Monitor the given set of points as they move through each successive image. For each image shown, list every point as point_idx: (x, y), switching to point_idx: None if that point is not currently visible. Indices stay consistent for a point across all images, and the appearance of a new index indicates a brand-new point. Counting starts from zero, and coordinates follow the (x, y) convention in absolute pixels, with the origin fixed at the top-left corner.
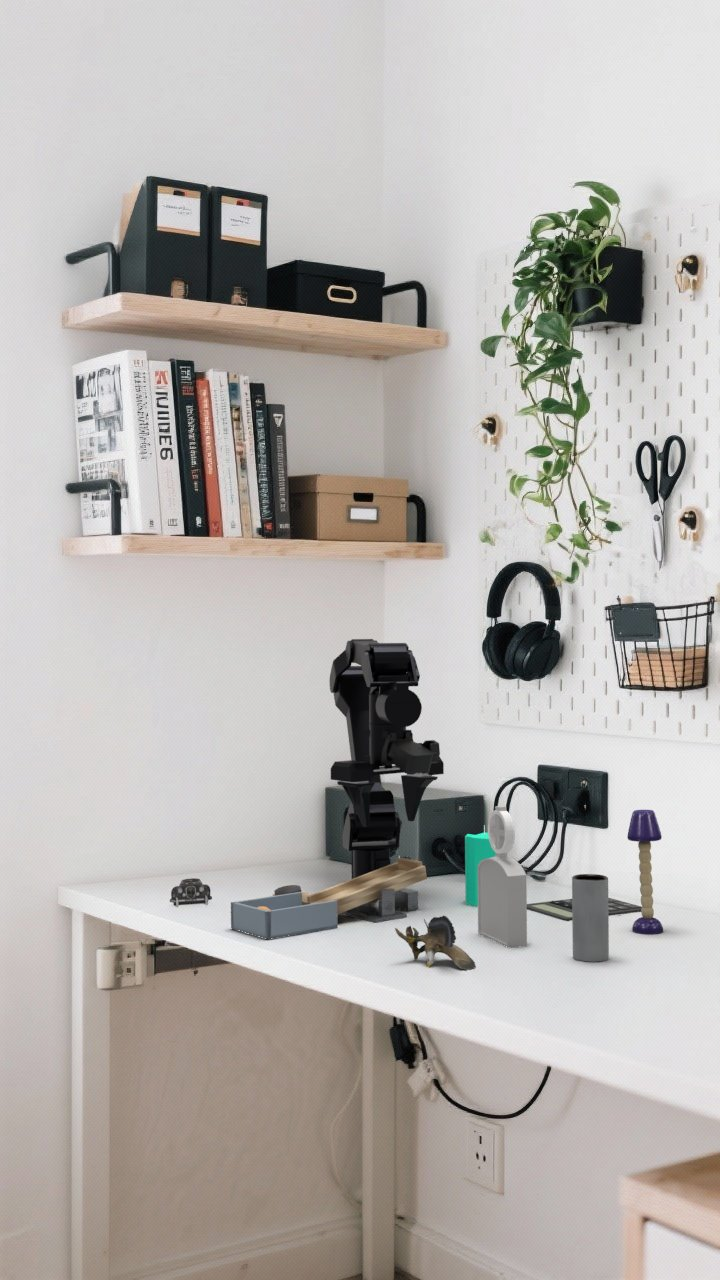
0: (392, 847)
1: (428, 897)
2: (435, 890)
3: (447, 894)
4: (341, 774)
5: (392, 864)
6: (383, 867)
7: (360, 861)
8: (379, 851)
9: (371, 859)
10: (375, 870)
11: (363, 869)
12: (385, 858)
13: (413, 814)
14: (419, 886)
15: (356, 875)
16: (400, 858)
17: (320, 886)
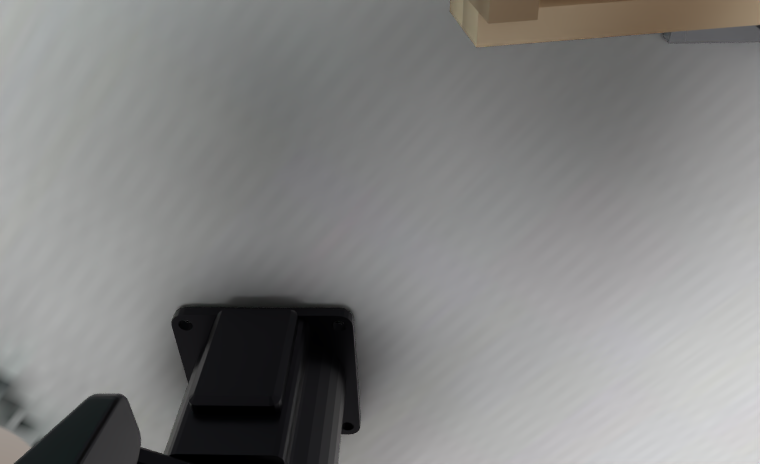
0: (152, 455)
1: (192, 5)
2: (58, 133)
3: (46, 4)
4: None
5: (574, 20)
6: (665, 23)
7: (332, 452)
8: (246, 450)
9: (293, 430)
10: (752, 15)
11: (329, 410)
12: (214, 413)
13: (78, 450)
14: (87, 249)
15: (342, 412)
16: (510, 10)
17: (439, 451)
